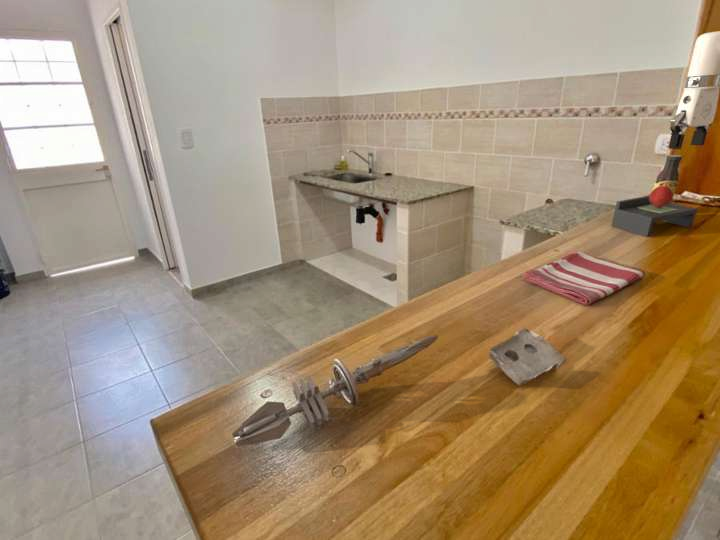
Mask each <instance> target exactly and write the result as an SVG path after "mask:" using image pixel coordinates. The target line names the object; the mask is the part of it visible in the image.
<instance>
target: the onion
mask: <svg viewBox="0 0 720 540" xmlns="http://www.w3.org/2000/svg"><path fill="white" fill-rule="evenodd" d="M649 195H650V196H649ZM649 195H648V196H649V201H650V203H651V204H652V205H654V206H655V207H656V208H661V207H663V206H665V205H667V204H669V203H670V202H671V200H672V201H673V199H672V198H674V196H673V193H672V191H671V190H670V189H669V188H668V187H667V183H664V184H663V185H661V186H659V187H657V188H655V189H654V190H653V189H652V191H651V192H650V194H649ZM671 203H672V202H671Z"/></svg>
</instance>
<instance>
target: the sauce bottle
mask: <svg viewBox="0 0 720 540" xmlns="http://www.w3.org/2000/svg"><path fill="white" fill-rule="evenodd" d="M682 158H683V155H679V154H668V155H666V158H665V160H666V161H665V164H664V166H663V169H662V170H661V171H660V172H659V173H658V174H657V177H656V180H655V181H654V185H653V188H652V191H653V190H654V189H655V188H657V187H659V186H661V185H663V184H664V183H667V187H668V188H669V189H670V190H671V191H672V193H673V198H674V195H675V193H676V190H677V186H678V184H679V177H680V175H679V174H680V173H679V166H680V163H681V161H682ZM673 198H672V200H671V202H670V203H672V201H673Z"/></svg>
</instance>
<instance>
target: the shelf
mask: <svg viewBox="0 0 720 540" xmlns="http://www.w3.org/2000/svg"><path fill="white" fill-rule="evenodd" d="M649 196H650V194H649V195H644V196H638V197H633V198H628V199H623V200H617V201H616V203H615V206H614V207H615V208H614V211H613V217H612V221H611V225H610V226H611V227H612V228H615V229H619V230H623V231H624V232H625V231H626V232H629V233H632V234H636V235H639V236H642V237H646V238H649V237H652V236H651V235H652V232H653V229H654V224H655V223H656V222H661V221H662V222H665V223H670V224H673V225H678V226H682V227H686V228H691V227H693V224H694V221H695V217H696V214H697V212H698V208H697V207H692V206H687V205H682V204H677V203H674V202H673V203H672V202H671V203H669V204H667V205H665V206H663V207H661V208H656V207H655V206H654V205H652V204H651V203H650V201H649Z"/></svg>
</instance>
